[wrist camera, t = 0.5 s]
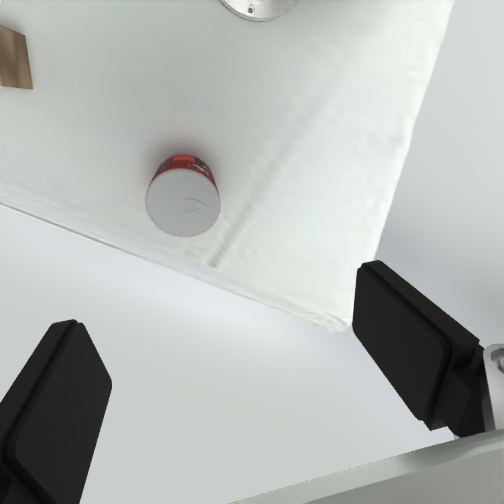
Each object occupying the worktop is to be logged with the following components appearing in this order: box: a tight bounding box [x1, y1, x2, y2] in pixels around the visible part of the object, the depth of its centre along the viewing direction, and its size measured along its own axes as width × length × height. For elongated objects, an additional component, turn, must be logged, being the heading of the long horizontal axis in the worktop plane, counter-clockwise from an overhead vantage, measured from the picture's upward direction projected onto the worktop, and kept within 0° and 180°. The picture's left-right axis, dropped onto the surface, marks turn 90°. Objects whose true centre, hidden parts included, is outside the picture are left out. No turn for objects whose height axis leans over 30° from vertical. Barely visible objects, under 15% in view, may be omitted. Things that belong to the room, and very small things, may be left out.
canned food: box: [145, 155, 220, 237], centre depth 35 cm, size 8×8×11 cm
